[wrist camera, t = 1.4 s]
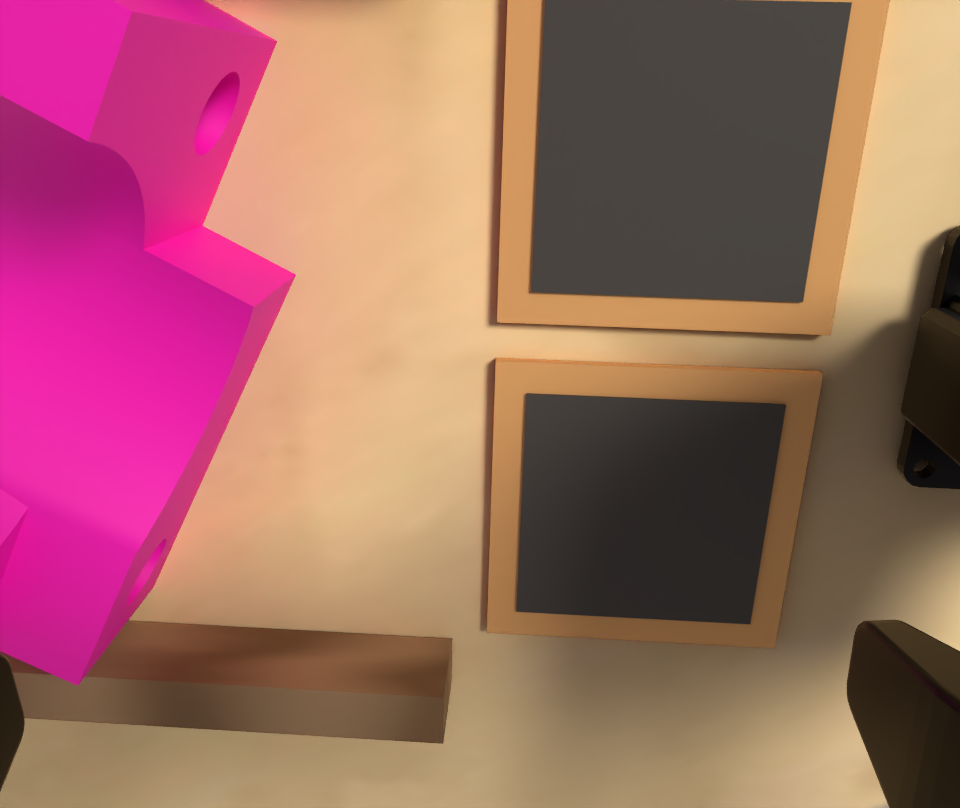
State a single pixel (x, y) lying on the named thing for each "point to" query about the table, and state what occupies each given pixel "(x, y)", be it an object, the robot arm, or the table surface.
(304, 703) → the channel
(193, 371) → the toy block
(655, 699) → the table surface
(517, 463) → the pit traps
